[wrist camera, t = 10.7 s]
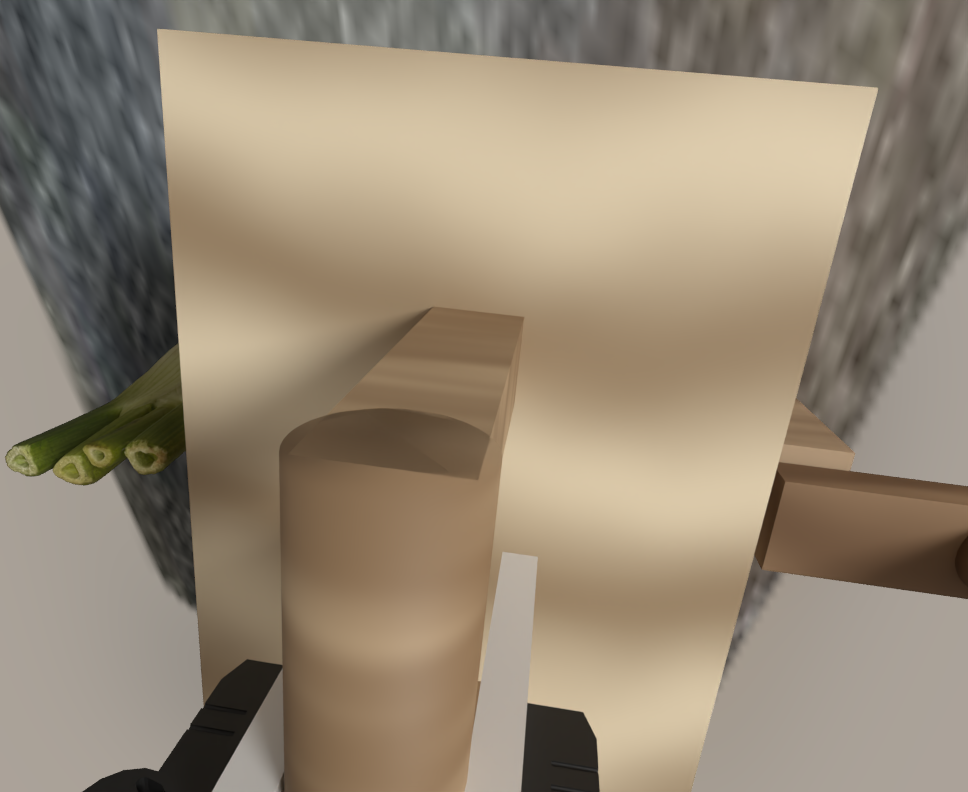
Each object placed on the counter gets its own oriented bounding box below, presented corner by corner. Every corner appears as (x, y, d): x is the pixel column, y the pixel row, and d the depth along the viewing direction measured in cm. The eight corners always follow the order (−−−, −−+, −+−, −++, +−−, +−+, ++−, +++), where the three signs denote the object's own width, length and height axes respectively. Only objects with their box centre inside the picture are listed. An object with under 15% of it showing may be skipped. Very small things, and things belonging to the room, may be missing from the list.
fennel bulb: (185, 382, 33) (-14, 487, 22) (208, 293, 31) (5, 356, 20) (291, 427, 33) (148, 554, 22) (319, 340, 31) (180, 429, 20)
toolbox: (395, 145, 28) (315, 127, 19) (811, 184, 27) (935, 185, 18) (377, 546, 35) (311, 673, 26) (711, 595, 33) (766, 748, 24)
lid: (219, 50, 15) (-523, -214, 5) (826, 102, 14) (1564, -101, 4) (248, 751, 23) (-26, 1248, 12) (651, 821, 22) (733, 1437, 11)
